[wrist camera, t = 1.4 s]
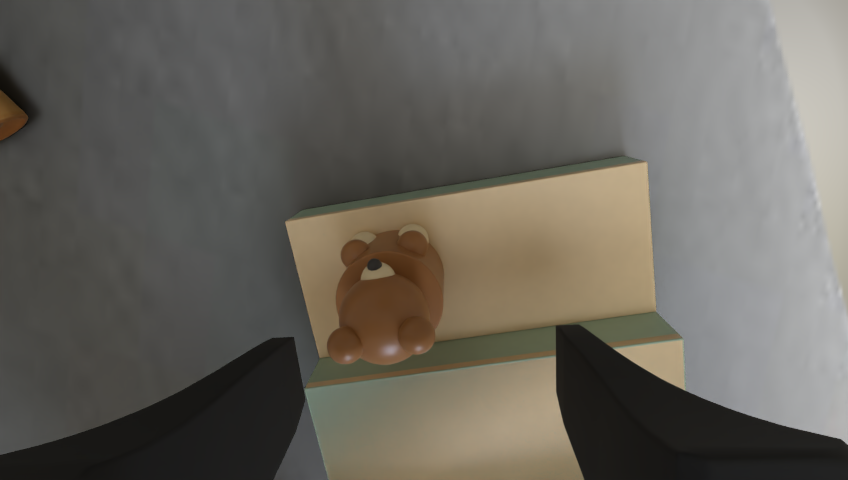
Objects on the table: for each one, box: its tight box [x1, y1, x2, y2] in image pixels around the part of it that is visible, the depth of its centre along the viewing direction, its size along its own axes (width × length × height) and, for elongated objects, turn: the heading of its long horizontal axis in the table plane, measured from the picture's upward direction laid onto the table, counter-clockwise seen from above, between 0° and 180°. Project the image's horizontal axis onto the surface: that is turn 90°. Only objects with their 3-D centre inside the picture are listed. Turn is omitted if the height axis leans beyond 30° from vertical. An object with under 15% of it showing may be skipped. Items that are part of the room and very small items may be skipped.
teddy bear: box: [327, 224, 444, 365], centre depth 18 cm, size 4×4×6 cm
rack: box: [285, 156, 686, 480], centre depth 21 cm, size 15×14×6 cm
